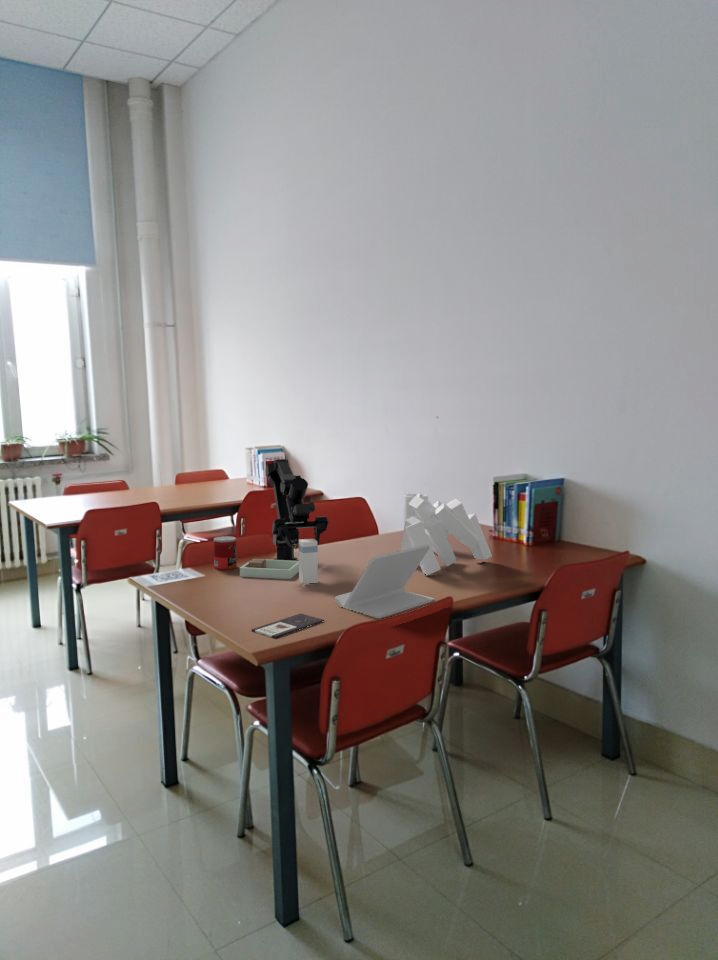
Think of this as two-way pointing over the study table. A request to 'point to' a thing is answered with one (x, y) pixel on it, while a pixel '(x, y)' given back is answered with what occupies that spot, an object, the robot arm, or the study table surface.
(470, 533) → the white geometric sculpture
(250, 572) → the pale green tray
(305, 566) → the carton
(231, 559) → the canned food
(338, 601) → the tablet stand
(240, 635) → the study table surface
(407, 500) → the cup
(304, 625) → the chocolate bar
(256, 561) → the walnut block
